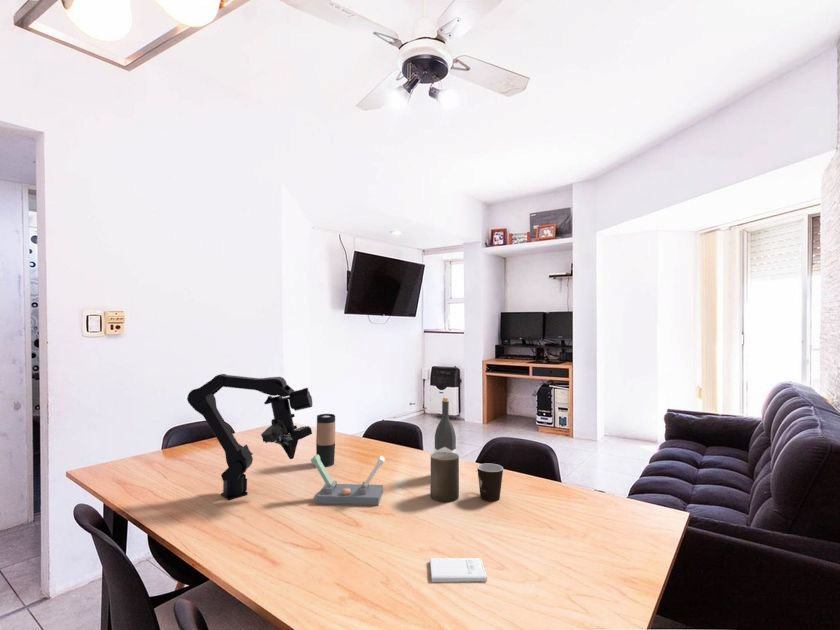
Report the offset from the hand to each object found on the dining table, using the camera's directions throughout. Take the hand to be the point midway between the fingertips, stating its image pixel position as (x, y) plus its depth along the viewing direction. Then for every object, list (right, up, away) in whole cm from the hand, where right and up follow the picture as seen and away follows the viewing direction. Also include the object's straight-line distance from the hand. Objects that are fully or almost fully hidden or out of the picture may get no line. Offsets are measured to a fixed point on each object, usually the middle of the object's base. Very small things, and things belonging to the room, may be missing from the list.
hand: (291, 458), depth 144 cm
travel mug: (+4, -13, +31) cm, 34 cm away
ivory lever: (+25, -8, -4) cm, 27 cm away
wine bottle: (+53, -13, +18) cm, 58 cm away
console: (+21, -12, -3) cm, 24 cm away
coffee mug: (+67, -13, -1) cm, 69 cm away
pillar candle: (+52, -12, -1) cm, 53 cm away
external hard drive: (+52, -12, -45) cm, 70 cm away
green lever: (+14, -8, -3) cm, 17 cm away
